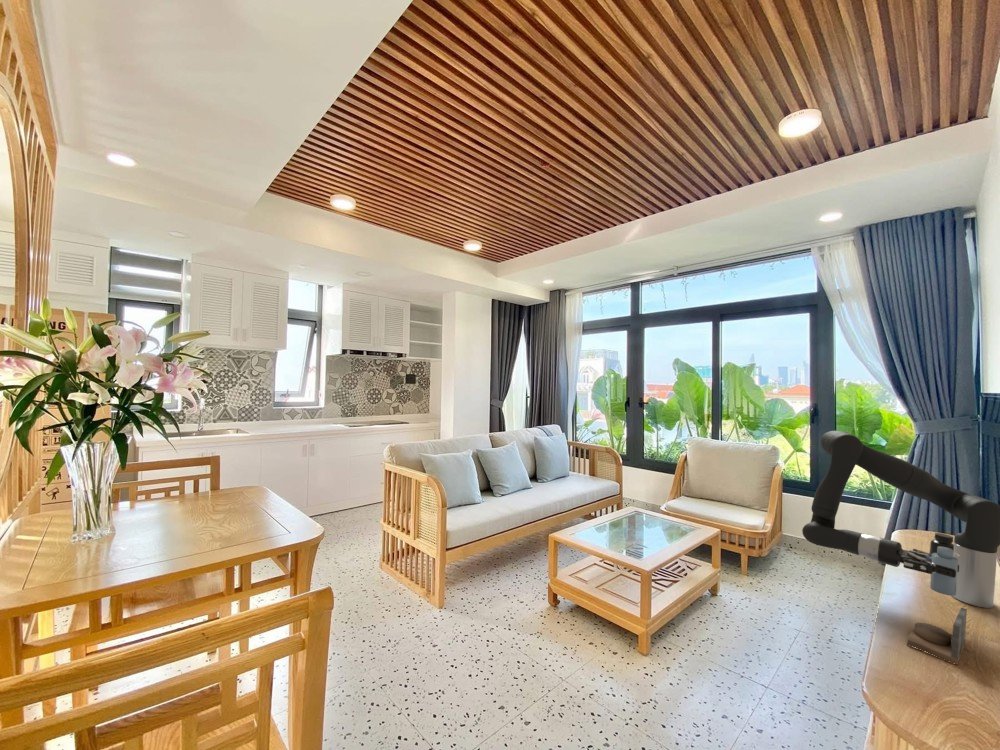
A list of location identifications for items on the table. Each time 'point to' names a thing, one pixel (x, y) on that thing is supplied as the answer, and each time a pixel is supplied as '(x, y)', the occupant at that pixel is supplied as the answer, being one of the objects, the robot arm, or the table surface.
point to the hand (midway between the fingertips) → (957, 571)
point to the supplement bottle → (941, 542)
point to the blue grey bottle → (941, 581)
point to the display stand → (940, 639)
